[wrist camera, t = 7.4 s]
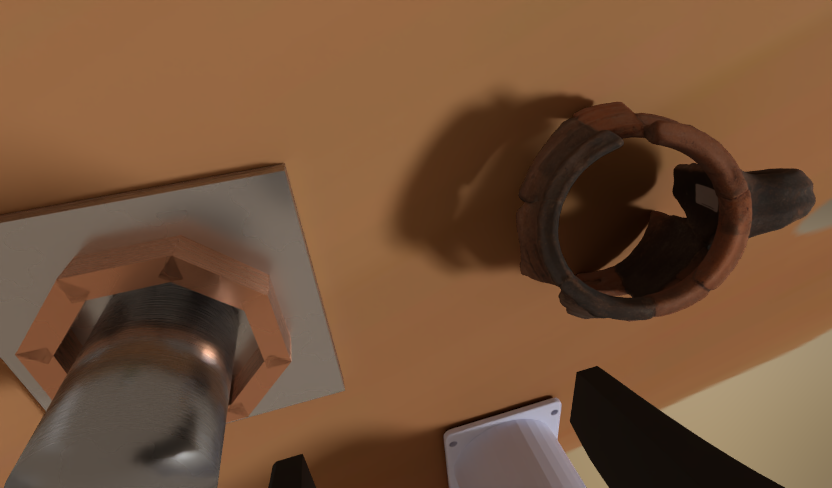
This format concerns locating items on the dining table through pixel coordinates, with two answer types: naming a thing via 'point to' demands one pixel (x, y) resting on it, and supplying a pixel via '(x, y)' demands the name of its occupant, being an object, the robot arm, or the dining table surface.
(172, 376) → the grey cylinder
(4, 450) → the dining table surface
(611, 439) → the robot arm
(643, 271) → the pottery mug
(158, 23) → the dining table surface
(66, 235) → the flange plate
